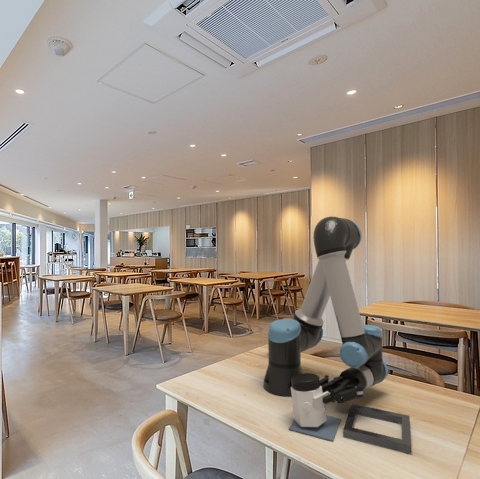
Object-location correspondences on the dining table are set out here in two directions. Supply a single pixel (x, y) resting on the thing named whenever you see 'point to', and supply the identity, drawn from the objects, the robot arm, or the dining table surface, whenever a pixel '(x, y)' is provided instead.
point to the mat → (319, 429)
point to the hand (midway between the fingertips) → (309, 401)
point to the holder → (375, 438)
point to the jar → (307, 400)
